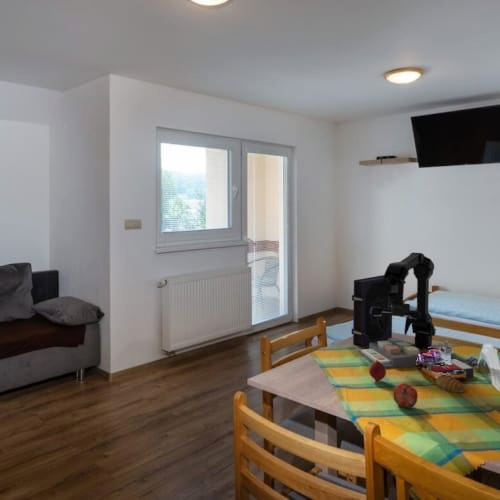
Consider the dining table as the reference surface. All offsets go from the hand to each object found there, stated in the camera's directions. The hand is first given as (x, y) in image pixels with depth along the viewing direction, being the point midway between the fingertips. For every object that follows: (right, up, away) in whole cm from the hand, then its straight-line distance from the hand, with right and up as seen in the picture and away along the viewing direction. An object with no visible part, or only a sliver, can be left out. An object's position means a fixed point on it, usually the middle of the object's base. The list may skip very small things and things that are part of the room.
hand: (393, 333), depth 185 cm
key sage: (+7, -9, +9) cm, 14 cm away
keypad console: (+1, -12, +8) cm, 14 cm away
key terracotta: (+1, -9, +4) cm, 10 cm away
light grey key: (0, -9, +11) cm, 14 cm away
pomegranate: (-8, -16, -37) cm, 42 cm away
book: (+1, -10, +34) cm, 35 cm away
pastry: (+13, -15, -23) cm, 30 cm away
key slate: (+5, -8, +15) cm, 18 cm away
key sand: (+8, -9, +3) cm, 12 cm away
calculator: (+17, -14, -10) cm, 24 cm away
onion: (-11, -15, -17) cm, 25 cm away
